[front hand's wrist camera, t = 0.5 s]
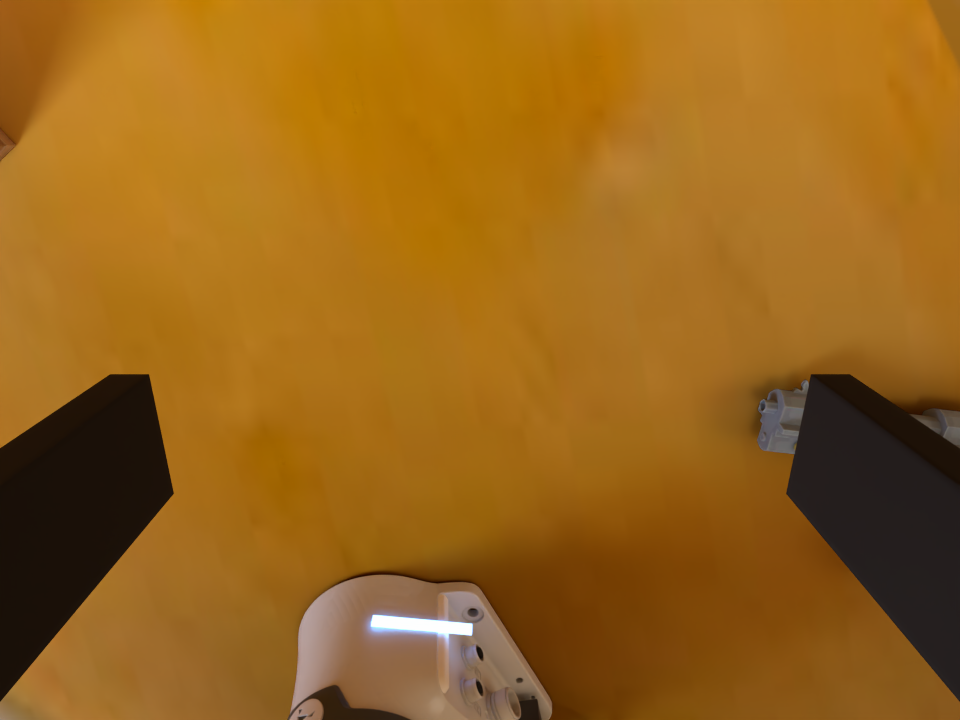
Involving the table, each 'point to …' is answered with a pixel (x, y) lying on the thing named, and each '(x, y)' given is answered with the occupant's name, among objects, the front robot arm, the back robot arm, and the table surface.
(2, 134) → the chest
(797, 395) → the toy gun
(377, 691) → the back robot arm
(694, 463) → the table surface
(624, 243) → the table surface
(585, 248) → the table surface
